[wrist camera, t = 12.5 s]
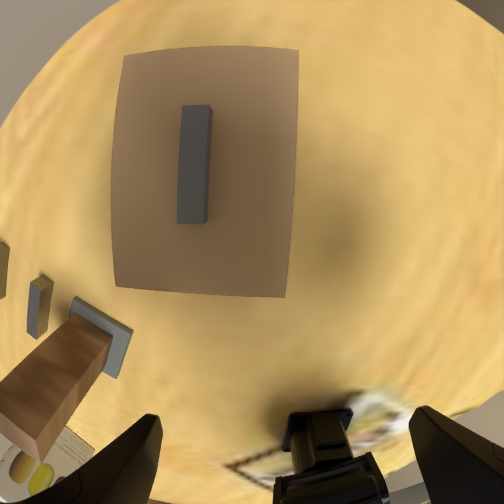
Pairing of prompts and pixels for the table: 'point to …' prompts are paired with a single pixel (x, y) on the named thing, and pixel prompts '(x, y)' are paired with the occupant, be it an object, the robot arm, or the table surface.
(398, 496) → the tray
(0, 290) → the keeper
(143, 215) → the toolbox
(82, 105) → the table surface
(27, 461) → the supplement box
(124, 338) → the pad
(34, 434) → the brown block
